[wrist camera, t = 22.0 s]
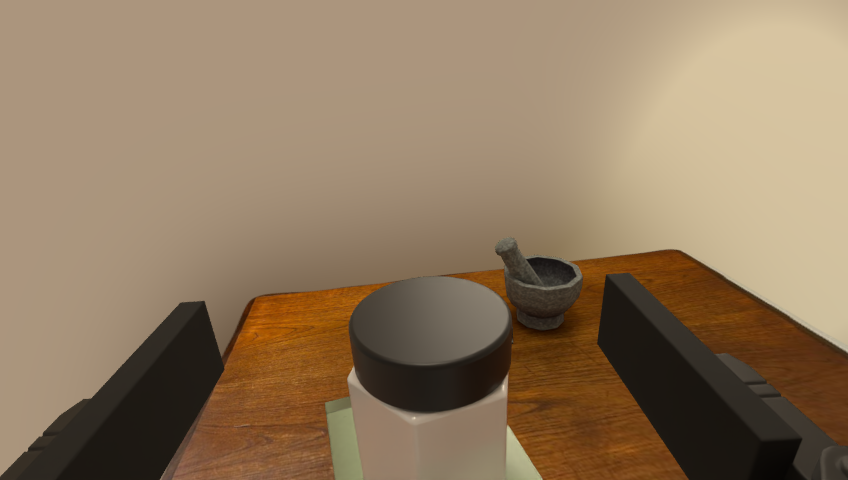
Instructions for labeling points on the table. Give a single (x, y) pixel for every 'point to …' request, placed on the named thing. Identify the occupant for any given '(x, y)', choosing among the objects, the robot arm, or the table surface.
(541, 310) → the mortar and pestle
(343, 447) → the olive green cubby
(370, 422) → the jar
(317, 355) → the table surface
